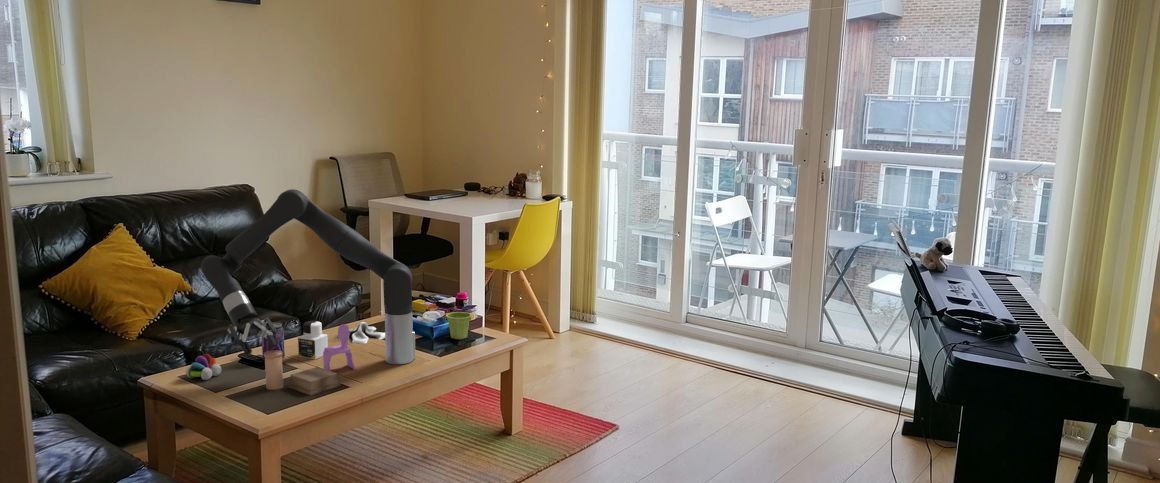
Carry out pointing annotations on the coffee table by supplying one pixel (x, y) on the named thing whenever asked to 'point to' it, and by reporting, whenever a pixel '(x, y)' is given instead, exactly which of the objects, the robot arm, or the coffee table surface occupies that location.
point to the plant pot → (458, 324)
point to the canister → (273, 369)
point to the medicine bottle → (312, 340)
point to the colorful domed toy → (204, 368)
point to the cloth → (364, 333)
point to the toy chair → (339, 348)
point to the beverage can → (278, 338)
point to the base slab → (314, 380)
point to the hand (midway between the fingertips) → (262, 350)
